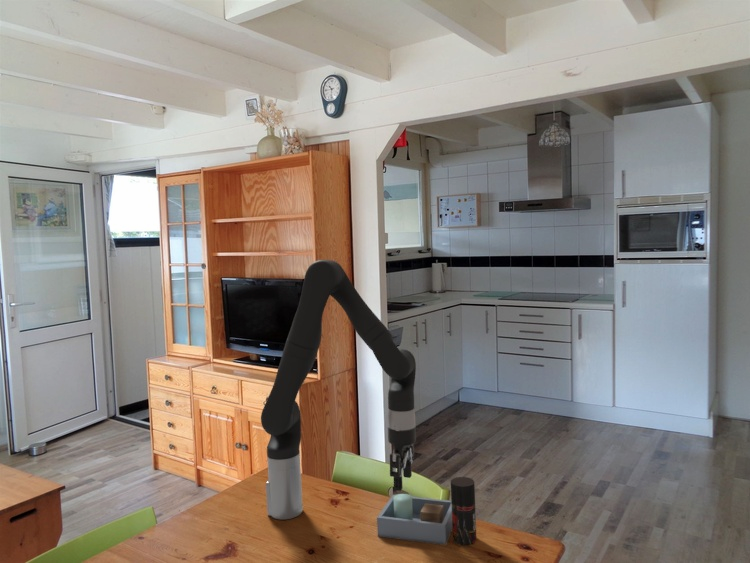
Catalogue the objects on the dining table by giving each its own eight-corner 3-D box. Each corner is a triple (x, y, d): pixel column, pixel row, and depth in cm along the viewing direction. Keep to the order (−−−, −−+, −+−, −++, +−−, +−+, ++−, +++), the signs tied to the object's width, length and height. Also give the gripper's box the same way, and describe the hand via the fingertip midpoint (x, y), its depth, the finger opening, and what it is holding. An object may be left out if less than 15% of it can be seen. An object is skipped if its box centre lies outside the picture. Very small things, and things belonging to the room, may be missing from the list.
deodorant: (476, 546, 137) (474, 487, 136) (452, 544, 138) (449, 486, 137) (476, 534, 142) (474, 477, 142) (453, 532, 144) (451, 476, 143)
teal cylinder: (392, 526, 147) (391, 501, 147) (397, 517, 152) (396, 492, 151) (410, 528, 146) (409, 503, 145) (415, 519, 150) (414, 494, 150)
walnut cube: (421, 530, 144) (420, 511, 144) (425, 521, 149) (425, 503, 149) (439, 532, 143) (439, 514, 143) (444, 523, 147) (443, 505, 147)
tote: (377, 536, 144) (376, 517, 144) (393, 511, 157) (393, 494, 157) (445, 545, 138) (445, 525, 137) (456, 519, 151) (455, 501, 151)
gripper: (396, 415, 157) (397, 471, 158) (379, 431, 143) (381, 492, 144) (422, 418, 154) (423, 474, 155) (407, 434, 141) (408, 496, 142)
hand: (402, 483), depth 150 cm, fingers open, 8 cm apart
